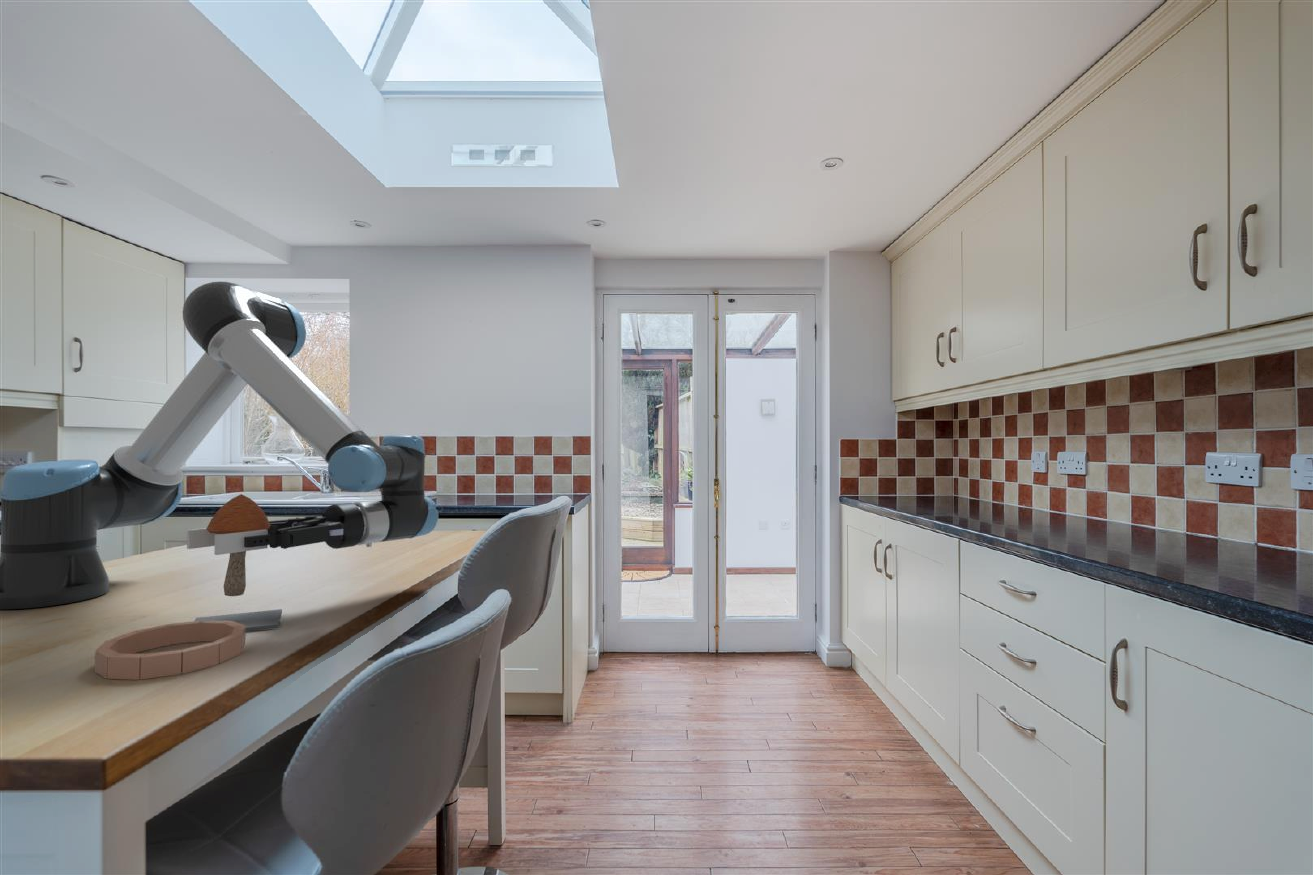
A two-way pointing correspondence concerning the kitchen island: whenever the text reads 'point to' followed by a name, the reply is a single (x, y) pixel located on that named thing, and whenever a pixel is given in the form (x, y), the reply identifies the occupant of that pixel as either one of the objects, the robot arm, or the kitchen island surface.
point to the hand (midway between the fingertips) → (201, 542)
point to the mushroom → (233, 519)
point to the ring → (124, 664)
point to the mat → (251, 619)
